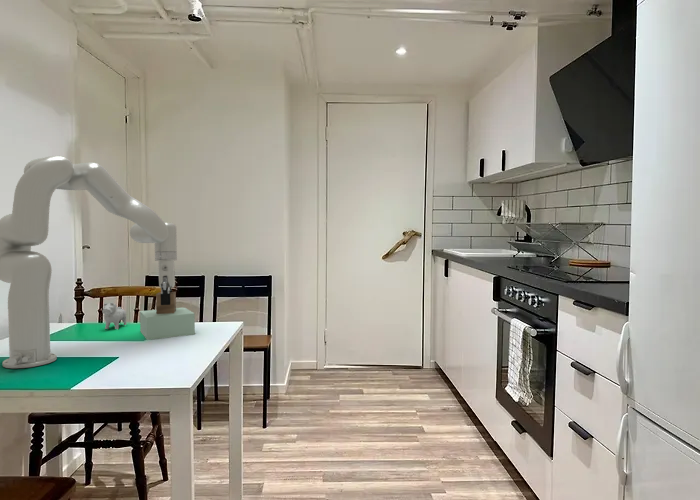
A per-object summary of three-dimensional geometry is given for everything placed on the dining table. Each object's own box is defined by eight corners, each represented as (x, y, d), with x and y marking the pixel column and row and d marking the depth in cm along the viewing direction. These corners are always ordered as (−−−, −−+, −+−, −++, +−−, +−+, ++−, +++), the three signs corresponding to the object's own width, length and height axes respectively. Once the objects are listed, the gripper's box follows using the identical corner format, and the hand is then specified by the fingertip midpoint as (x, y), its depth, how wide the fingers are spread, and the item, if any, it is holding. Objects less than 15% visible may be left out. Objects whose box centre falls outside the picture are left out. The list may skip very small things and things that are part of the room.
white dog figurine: (98, 331, 171) (97, 303, 170) (115, 325, 184) (114, 298, 183) (112, 331, 171) (112, 303, 171) (128, 325, 184) (128, 298, 183)
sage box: (194, 335, 166) (194, 313, 166) (147, 340, 157) (146, 317, 157) (184, 327, 180) (184, 307, 179) (140, 332, 171) (140, 311, 171)
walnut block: (174, 313, 166) (173, 293, 166) (156, 313, 165) (156, 294, 164) (176, 310, 172) (175, 291, 172) (158, 311, 170) (158, 292, 170)
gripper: (175, 257, 160) (176, 305, 161) (178, 255, 177) (178, 299, 177) (152, 257, 158) (153, 307, 159) (157, 255, 175) (157, 300, 175)
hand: (166, 302), depth 168 cm, fingers open, 9 cm apart
